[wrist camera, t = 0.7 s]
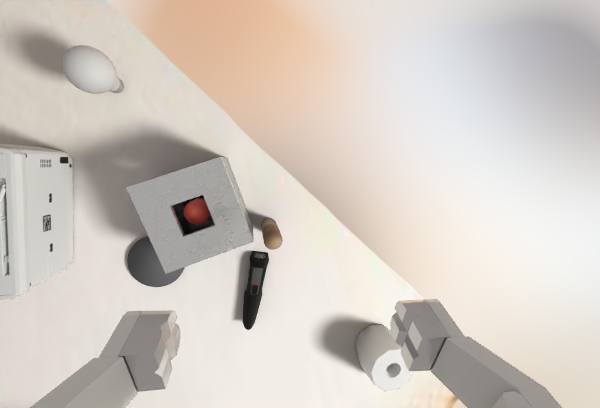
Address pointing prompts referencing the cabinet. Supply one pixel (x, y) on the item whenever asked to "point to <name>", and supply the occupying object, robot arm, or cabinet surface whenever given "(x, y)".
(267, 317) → the cabinet surface
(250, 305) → the electric trimmer
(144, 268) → the rubber coaster
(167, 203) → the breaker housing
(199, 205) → the button
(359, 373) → the cabinet surface
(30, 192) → the stereo radio cassette player
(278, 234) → the walnut dowel
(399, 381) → the toilet tissue
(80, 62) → the lightbulb
